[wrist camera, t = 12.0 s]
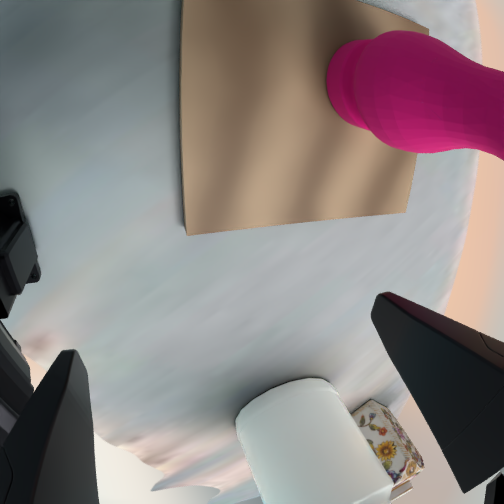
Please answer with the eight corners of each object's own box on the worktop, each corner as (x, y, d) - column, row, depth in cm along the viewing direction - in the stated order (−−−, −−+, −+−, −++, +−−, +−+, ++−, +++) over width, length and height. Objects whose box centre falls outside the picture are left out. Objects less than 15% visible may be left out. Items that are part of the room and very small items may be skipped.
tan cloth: (184, 227, 20) (187, 235, 19) (183, -20, 12) (185, -26, 11) (396, 207, 25) (405, 212, 24) (418, 29, 17) (428, 29, 16)
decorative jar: (388, 407, 52) (434, 474, 37) (342, 440, 53) (381, 508, 39) (371, 397, 45) (426, 479, 30) (316, 435, 47) (361, 518, 32)
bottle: (214, 410, 32) (303, 627, 10) (324, 358, 33) (452, 560, 11) (253, 443, 41) (324, 597, 18) (337, 403, 42) (426, 550, 19)
